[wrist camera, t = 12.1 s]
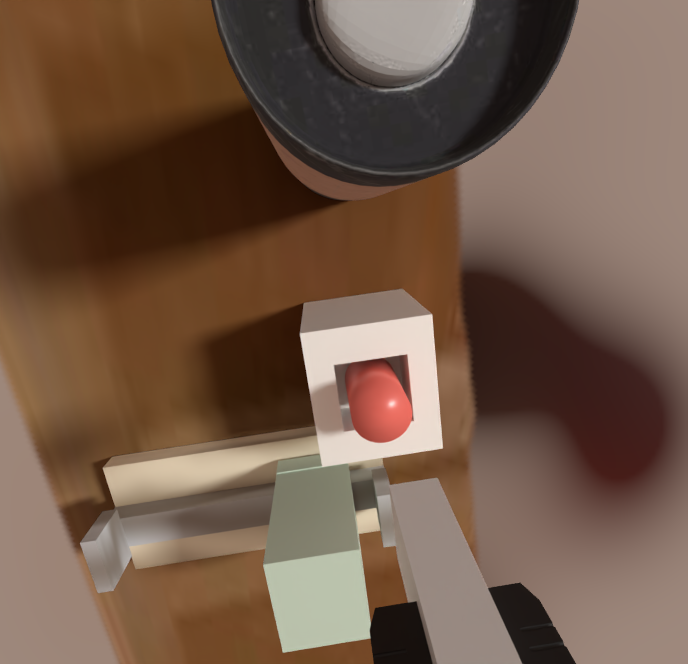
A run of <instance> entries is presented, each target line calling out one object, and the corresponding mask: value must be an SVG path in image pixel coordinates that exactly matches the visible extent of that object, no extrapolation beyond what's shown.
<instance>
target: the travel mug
mask: <svg viewBox="0 0 688 664" xmlns="http://www.w3.org/2000/svg"><path fill="white" fill-rule="evenodd" d="M211 3H212V7H213V12H214V16H215V20H216V24H217V28H218V32H219V35H220V38H221V41H222V44H223V46H224V49H225V52H226V55H227V58H228V60H229V63H230V65H231V67H232V69H233V71H234V73H235V75H236V77H237V79H238V81H239V83H240V85H241V87H242V89H243V91H244V93H245V94H246V96H247V98H248V100H249V102H250V104H251V105H252V107H253V109H254V111H255V113H256V114H257V116H258V118H259V120H260V122H261V124H262V126H263V127H264V129H265V131H266V133H267V135H268V137H269V138H270V140H271V142H272V144H273V146H274V148H275V149H276V151H277V153H278V155H279V157H280V158H281V160H282V161H283V163H284V164H285V166H286V167H287V168H288V169H289V170H290V172H291V173H292V174H293V175H294V176H295V177H296V178H297V179H298V180H299V181H300V182H302V183H303V184H304V185H305V186H306V187H307V188H309V189H310V190H311V191H313V192H315V193H316V194H318V195H320V196H323V197H326V198H329V199H334V200H350V201H352V200H364V199H369V198H373V197H376V196H379V195H382V194H385V193H387V192H390V191H393V190H396V189H398V188H401V187H404V186H407V185H409V184H412V183H415V182H417V181H420V180H423V179H426V178H428V177H431V176H434V175H437V174H439V173H442V172H445V171H448V170H450V169H453V168H455V167H457V166H459V165H461V164H463V163H465V162H467V161H469V160H471V159H473V158H475V157H476V156H477V155H479V154H481V153H482V152H484V151H485V150H486V149H488V148H489V147H491V146H492V145H494V144H495V143H496V142H498V140H500V139H501V138H502V137H503V136H504V135H505V134H507V133H508V132H509V131H510V130H511V129H512V128H513V127H514V126H515V125H516V124H517V123H518V122H519V121H520V119H522V118H523V116H524V115H525V114H526V113H527V112H528V111H529V110H530V109H531V107H532V106H533V105H534V103H535V102H536V100H537V99H538V97H539V96H540V95H541V93H542V92H543V90H544V89H545V87H546V86H547V83H548V82H549V80H550V79H551V77H552V75H553V73H554V71H555V69H556V68H557V66H558V64H559V61H560V59H561V57H562V54H563V52H564V49H565V47H566V44H567V42H568V40H569V36H570V33H571V30H572V26H573V23H574V20H575V16H576V13H577V9H578V3H579V0H211Z"/></svg>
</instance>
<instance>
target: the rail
mask: <svg viewBox="0 0 688 664" xmlns="http://www.w3.org/2000/svg"><path fill="white" fill-rule="evenodd" d="M314 455H320V451H319V445H318V439H317V433H316V427H315V426H311V427H305V428H298V429H291V430H285V431H278V432H272V433H265V434H259V435H252V436H245V437H239V438H232V439H226V440H219V441H212V442H206V443H199V444H193V445H186V446H179V447H173V448H166V449H160V450H153V451H146V452H140V453H133V454H127V455H120V456H113V457H111V459H110V460H109V461H108V462H107V463H106V465H105V466H104V467H103V471H104V474H105V477H106V480H107V483H108V486H109V489H110V492H111V495H112V498H113V502H114V505H115V508H114V510H108V511H102V513H101V514H100V516H99V517H98V518H97V520H96V521H95V523H94V524H93V525H92V527H91V528H90V530H89V531H88V532H87V534H86V535H85V537H84V538H83V539H82V541H81V542H80V545H81V547H82V550H83V553H84V556H85V558H86V561H87V564H88V567H89V569H90V572H91V575H92V578H93V581H94V583H95V586H96V589H97V592H98V593H101V592H108V591H113V590H114V588H115V587H116V585H117V583H118V581H119V579H120V577H121V575H122V574H123V572H124V570H125V568H126V566H127V564H128V562H129V560H130V559H131V557H132V560H133V563H134V566H135V569H140V568H147V567H153V566H159V565H166V564H172V563H178V562H185V561H191V560H197V559H203V558H210V557H216V556H222V555H229V554H235V553H241V552H248V551H254V550H260V549H266V542H267V536H268V529H269V522H270V515H271V509H272V502H273V495H274V489H275V482H276V475H277V473H276V472H277V466H278V461H281V460H288V459H294V458H301V457H307V456H314ZM348 465H349V472H350V480H351V486H352V493H353V500H354V507H355V512H356V519H357V526H358V533H359V534H361V533H367V532H374V531H381V536H382V541H383V546H384V547H389V546H396V541H395V533H394V525H393V516H392V508H391V499H390V491H389V485H390V483H389V480H388V476H387V472H386V469H385V468H384V467H383V460H382V458H378V459H371V460H365V461H358V462H352V463H348Z"/></svg>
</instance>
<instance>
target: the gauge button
mask: <svg viewBox="0 0 688 664" xmlns="http://www.w3.org/2000/svg"><path fill="white" fill-rule="evenodd" d="M345 385H346V391H347V396H348V402H349V408H350V413H351V419H352V424H353V426H354V428H355V430H356V432H357V433H358V434H359V435H360V436H361V437H363V438H364V439H366V440H368V441H371V442H375V443H386V442H390V441H393V440H395V439H397V438H398V437H400V436H401V435H402V434H403V433H404V432H405V431H406V430H407V429H408V427H409V425H410V423H411V420H412V407H411V404H410V402H409V400H408V398H407V396H406V394H405V392H404V390H403V388H402V386H401V384H400V382H399V380H398V378H397V376H396V374H395V372H394V370H393V368H392V366H391V364H390V363H389V362H388V361H387V360H386V359H385V358H379V359H372V360H365V361H358V362H352V363H350V365H349V366H348V368H347V370H346V373H345Z"/></svg>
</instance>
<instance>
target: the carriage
mask: <svg viewBox="0 0 688 664" xmlns="http://www.w3.org/2000/svg"><path fill="white" fill-rule="evenodd" d="M276 473H277V475H276V482H275V489H274V495H273V502H272V509H271V515H270V522H269V529H268V536H267V542H266V549H265V556H264V562H263V566H264V571H265V575H266V579H267V584H268V588H269V593H270V597H271V602H272V606H273V610H274V615H275V619H276V624H277V628H278V632H279V637H280V641H281V646H282V650H283V653H284V652H290V651H296V650H302V649H308V648H314V647H320V646H326V645H332V644H338V643H344V642H350V641H356V640H362V639H368V638H370V626H371V622H370V615H369V607H368V600H367V593H366V585H365V578H364V570H363V563H362V556H361V548H360V541H359V533H358V526H357V519H356V512H355V507H354V500H353V493H352V486H351V480H350V472H349V465H348V463H345V464H339V465H332V466H326V467H322V463H321V457H320V455H314V456H307V457H301V458H294V459H288V460H281V461H278V466H277V472H276Z"/></svg>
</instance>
